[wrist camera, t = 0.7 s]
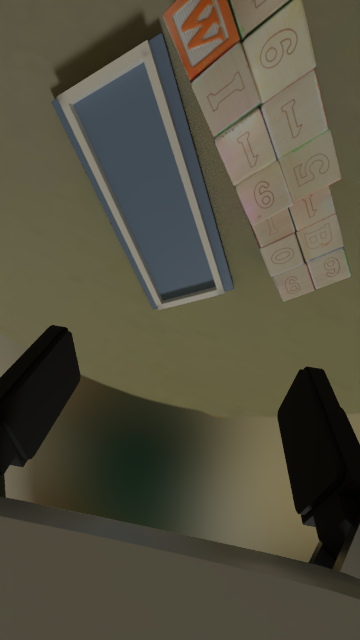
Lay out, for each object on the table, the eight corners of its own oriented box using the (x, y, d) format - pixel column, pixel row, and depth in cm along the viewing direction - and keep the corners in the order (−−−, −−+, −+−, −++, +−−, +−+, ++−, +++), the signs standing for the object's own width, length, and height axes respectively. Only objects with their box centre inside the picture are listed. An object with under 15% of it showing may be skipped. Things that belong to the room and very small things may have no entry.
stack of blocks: (319, 244, 30) (368, 294, 20) (267, 266, 32) (287, 321, 22) (253, 13, 20) (283, -114, 10) (186, 69, 23) (159, 9, 13)
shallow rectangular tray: (164, 37, 22) (159, 28, 20) (233, 285, 34) (234, 292, 33) (56, 103, 25) (45, 100, 24) (154, 305, 38) (151, 313, 36)
